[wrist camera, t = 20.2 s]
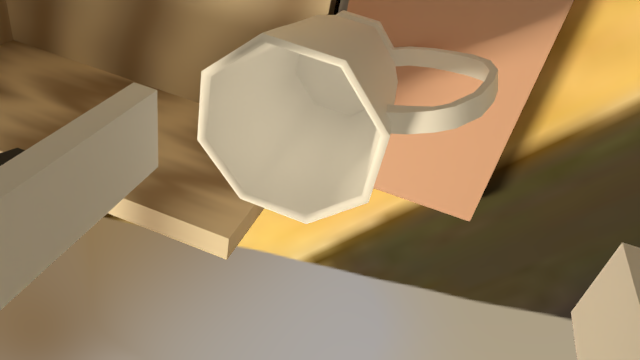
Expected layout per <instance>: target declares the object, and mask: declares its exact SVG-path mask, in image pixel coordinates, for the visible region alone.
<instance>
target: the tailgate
mask: <svg viewBox="0 0 640 360" xmlns="http://www.w3.org/2000/svg"><path fill="white" fill-rule="evenodd" d="M573 1H574V0H340V5H339V10H338V13H339V12H341V11H343V10H345V11H348V12H351V13H355V14H358V15H361V16H364V17H367V18H371V19H374V20H377V21H380V22H381V24H382V26H383V28H384V30H385V32H386V33H387V35H388V37H389V39H390V41H391V43H392V44H393V46H394V47H408V46H413V47H427V48H437V49H444V50H450V51H457V52H462V53H468V54H473V55H476V56H479V57H482V58H485V59H488V60H491V61H492V63H493V64H494V65H495V66H496V68H497V69H498V92H497V95H496V98H495V101H494V102H493V104H492V105H491V106H490V107H489V108H488V109H487V111H486V112H485V113H484V114H483V115H482V117H479V118H477V119H475V120H473V121H471V122H469V123H467V124H465V125H462V126H460V127H458V128H456V129H451V130H446V131H441V132H435V133H421V134H390V138H389V141H388V144H387V147H386V151H385V154H384V157H383V160H382V163H381V166H380V169H379V172H378V175H377V178H376V181H375V184H374V187H373V188H374V189H377V190H380V191H383V192H386V193H389V194H392V195H395V196H398V197H400V198H403V199H406V200H409V201H412V202H415V203H418V204H421V205H424V206H426V207H429V208H432V209H435V210H438V211H441V212H444V213H447V214H450V215H452V216H455V217H458V218H461V219H464V220H467V221H470V220H471V218H472V216H473V213H474V211H475V209H476V207H477V205H478V203H479V201H480V199H481V196H482V194H483V192H484V190H485V188H486V186H487V184H488V182H489V179H490V177H491V175H492V173H493V171H494V169H495V167H496V165H497V163H498V160H499V158H500V156H501V154H502V152H503V150H504V148H505V146H506V143H507V141H508V139H509V137H510V135H511V133H512V131H513V129H514V126H515V124H516V122H517V120H518V118H519V116H520V114H521V112H522V109H523V107H524V105H525V103H526V101H527V99H528V97H529V95H530V92H531V90H532V88H533V86H534V84H535V82H536V80H537V78H538V75H539V73H540V71H541V69H542V67H543V65H544V63H545V61H546V59H547V56H548V54H549V52H550V50H551V48H552V46H553V44H554V42H555V39H556V37H557V35H558V33H559V31H560V29H561V27H562V25H563V22H564V20H565V18H566V16H567V14H568V12H569V10H570V8H571V5H572V3H573ZM396 73H397V79H398V84H397V90H396V97H395V103H394V105H402V106H431V107H433V106H439V105H444V104H449V103H451V102H454V101H456V100H458V99H460V98H463V97H465V96H467V95H469V94H471V93H474V92H475V91H476V90H477V89H478V88H479V87H480V86H481V84H482V83H483V81H482V80H479V79H476V78H473V77H470V76H467V75H463V74H459V73H454V72H450V71H445V70H440V69H435V68H429V67H419V66H396Z"/></svg>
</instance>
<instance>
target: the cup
mask: <svg viewBox="0 0 640 360" xmlns="http://www.w3.org/2000/svg"><path fill="white" fill-rule="evenodd" d="M396 66H419V67H429V68H435V69H440V70H445V71H450V72H454V73H459V74H463V75H467V76H470V77H473V78H476V79H479V80H482V81H483V83H482V84H481V86H480V87H479V88H478V89H477V90H476V91H475V92H474V93H471V94H469V95H467V96H465V97H463V98H460V99H458V100H456V101H454V102H451V103H449V104H444V105H439V106H433V107H431V106H402V105H394V103H395V97H396V90H397V84H398V79H397V73H396ZM497 92H498V69H497V68H496V66H495V65H494V64H493V63H492V61H491V60H488V59H485V58H482V57H479V56H476V55H473V54H468V53H462V52H457V51H450V50H444V49H437V48H427V47H413V46H408V47H394V46H393V44H392V43H391V41H390V39H389V37H388V35H387V33H386V32H385V30H384V28H383V26H382V24H381V22H380V21H377V20H374V19H371V18H367V17H364V16H361V15H358V14H355V13H351V12H348V11H345V10H343V11H341V12H339V13H338V14H336V15H316V16H313V17H310V18H307V19H304V20H301V21H298V22H295V23H292V24H289V25H285V26H282V27H278V28H275V29H272V30H269V31H266V32H263V33H261V34H259V35H258V36H256V37H255V38H253V39H251V40H250V41H248V42H247V43H245V44H244V45H242V46H240V47H239V48H237V49H236V50H234V51H233V52H231V53H229V54H228V55H226V56H225V57H223V58H222V59H220V60H218V61H217V62H215V63H214V64H212V65H211V66H209V67H207V68H206V69H204V70H203V71H201V85H200V102H199V118H198V135H197V140H198V142H199V143H200V144H201V146H202V147H203V148H204V150H205V151H206V153H207V154H208V155H209V157H210V158H211V159H212V161H213V162H214V164H215V165H216V166H217V168H218V169H219V170H220V172H221V173H222V175H223V176H224V177H225V179H226V180H227V181H228V183H229V184H230V186H231V187H232V188H233V190H234V191H235V192H236V194H237V195H238V197H239V198H240V199H242V200H245V201H247V202H250V203H253V204H255V205H258V206H260V207H263V208H266V209H268V210H271V211H274V212H276V213H279V214H281V215H284V216H287V217H289V218H292V219H295V220H297V221H300V222H302V223H305V224H308V223H311V222H314V221H317V220H320V219H323V218H325V217H328V216H331V215H334V214H337V213H340V212H343V211H346V210H349V209H352V208H354V207H357V206H360V205H363V204H366V203H368V202H369V199H370V196H371V193H372V190H373V187H374V184H375V181H376V178H377V175H378V172H379V169H380V166H381V163H382V160H383V157H384V154H385V151H386V147H387V144H388V141H389V138H390V134H421V133H435V132H441V131H446V130H451V129H456V128H458V127H460V126H462V125H465V124H467V123H469V122H471V121H473V120H475V119H477V118H479V117H482V115H483V114H484V113H485V112H486V111H487V109H488V108H489V107H490V106H491V105H492V104H493V102H494V101H495V98H496V95H497Z"/></svg>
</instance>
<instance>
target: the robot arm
mask: <svg viewBox="0 0 640 360" xmlns="http://www.w3.org/2000/svg"><path fill="white" fill-rule="evenodd" d="M157 167H158V108H157V90H156V89H153V88H150V87H147V86H144V85H141V84H138V83H134V82H133V83H132V84H130V85H129V86H127V87H126V88H124V89H122V90H121V91H119V92H118V93H116V94H114V95H113V96H111V97H110V98H108V99H106V100H105V101H103V102H102V103H100V104H98V105H97V106H95V107H94V108H92V109H90V110H89V111H87V112H86V113H84V114H82V115H81V116H79V117H78V118H76V119H75V120H73V121H71V122H70V123H68V124H67V125H65V126H63V127H62V128H60V129H59V130H57V131H55V132H54V133H52V134H51V135H49V136H47V137H46V138H44V139H43V140H41V141H39V142H38V143H36V144H35V145H33V146H32V147H30V148H28V149H27V150H23V149H20V148H15V149H11V150H8V151H5V152H2V153H0V310H1V309H2V308H3V307H5V306H6V305H7V304H8V303H9V302H10V301H11V300H12V299H13V298H15V297H16V296H17V295H18V294H19V293H20V292H21V291H22V290H23V289H24V288H26V286H28V285H29V284H30V283H31V282H32V281H33V280H34V279H35V278H37V277H38V276H39V275H40V274H41V273H42V272H43V271H44V270H45V269H46V268H48V267H49V266H50V265H51V264H52V263H53V262H54V261H55V260H56V259H57V258H58V257H60V255H62V254H63V253H64V252H65V251H66V250H67V249H68V248H70V247H71V246H72V245H73V244H74V243H75V242H76V241H77V240H78V239H79V238H80V237H81V236H83V235H84V234H85V233H86V232H87V231H88V230H89V229H90V228H91V227H93V226H94V225H95V224H96V223H97V222H98V221H99V220H100V219H101V218H103V217H104V216H105V215H106V214H107V213H108V212H109V211H110V210H111V209H112V208H114V207H115V206H116V205H117V204H118V203H119V202H120V201H121V200H122V199H123V198H125V197H126V196H127V195H128V194H129V193H130V192H131V191H132V190H133V189H134V188H136V187H137V186H138V185H139V184H140V183H141V182H142V181H143V180H144V179H145V178H146V177H148V176H149V175H150V174H151V173H152V172H153V171H154V170H155V169H156V168H157ZM571 316H572V324H573V331H574V340H575V347H576V355H577V360H640V248H638V247H635V246H632V245H629V244H626V243H623V242H622V244H621V245H620V246H619V248H618V249H617V250H616V252H615V253H614V254H613V256H612V257H611V259H610V260H609V261H608V263H607V264H606V265H605V267H604V268H603V269H602V271H601V272H600V273H599V275H598V276H597V278H596V279H595V280H594V282H593V283H592V284H591V286H590V287H589V288H588V290H587V291H586V293H585V294H584V295H583V297H582V298H581V299H580V301H579V302H578V303H577V305H576V306H575V308H574V309H573V310H572V312H571Z"/></svg>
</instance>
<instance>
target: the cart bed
mask: <svg viewBox="0 0 640 360" xmlns="http://www.w3.org/2000/svg"><path fill="white" fill-rule="evenodd" d="M335 5H336V0H0V153H2V152H5V151H8V150H11V149H15V148H20V149H23V150H27V149H28V148H30V147H32V146H33V145H35V144H36V143H38V142H39V141H41V140H43V139H44V138H46V137H47V136H49V135H51V134H52V133H54V132H55V131H57V130H59V129H60V128H62V127H63V126H65V125H67V124H68V123H70V122H71V121H73V120H75V119H76V118H78V117H79V116H81V115H82V114H84V113H86V112H87V111H89V110H90V109H92V108H94V107H95V106H97V105H98V104H100V103H102V102H103V101H105V100H106V99H108V98H110V97H111V96H113V95H114V94H116V93H118V92H119V91H121V90H122V89H124V88H126V87H127V86H129V85H130V84H132V83H133V82H134V83H138V84H141V85H144V86H147V87H150V88H153V89H156V90H157V108H158V167H157V168H156V169H155V170H154V171H153V172H152V173H151V174H150V175H149V176H148V177H146V178H145V179H144V180H143V181H142V182H141V183H140V184H139V185H138V186H137V187H136V188H134V189H133V190H132V191H131V192H130V193H129V194H128V195H127V196H126V197H125V198H123V199H122V200H121V201H120V202H119V203H118V204H117V205H116V206H115V207H114V208H112V209H111V210H110V211H109V212H108V213H109V214H111V215H114V216H117V217H119V218H122V219H124V220H127V221H129V222H132V223H134V224H137V225H140V226H142V227H145V228H147V229H150V230H152V231H155V232H157V233H160V234H162V235H165V236H168V237H170V238H173V239H175V240H178V241H181V242H183V243H186V244H188V245H191V246H193V247H196V248H198V249H201V250H203V251H206V252H208V253H211V254H214V255H216V256H219V257H221V258H224V259H226V260H227V259H228V257H229V256H230V255H231V253H232V252H233V251H234V249H235V248H236V246H237V245H238V244H239V242H240V241H241V240H242V238H243V237H244V235H245V234H246V233H247V231H248V230H249V228H250V227H251V226H252V224H253V223H254V222H255V220H256V219H257V217H258V216H259V215H260V213H261V212H262V211H263V209H264V208H263V207H260V206H258V205H255V204H253V203H250V202H247V201H245V200H242V199H240V198H239V197H238V195H237V194H236V192H235V191H234V190H233V188H232V187H231V186H230V184H229V183H228V181H227V180H226V179H225V177H224V176H223V175H222V173H221V172H220V170H219V169H218V168H217V166H216V165H215V164H214V162H213V161H212V159H211V158H210V157H209V155H208V154H207V153H206V151H205V150H204V148H203V147H202V146H201V144H200V143H199V142H198V140H197V135H198V118H199V102H200V85H201V71H203V70H204V69H206V68H207V67H209V66H211V65H212V64H214V63H215V62H217V61H218V60H220V59H222V58H223V57H225V56H226V55H228V54H229V53H231V52H233V51H234V50H236V49H237V48H239V47H240V46H242V45H244V44H245V43H247V42H248V41H250V40H251V39H253V38H255V37H256V36H258V35H259V34H261V33H263V32H266V31H269V30H272V29H275V28H278V27H282V26H285V25H289V24H292V23H295V22H298V21H301V20H304V19H307V18H310V17H313V16H316V15H334V10H335Z"/></svg>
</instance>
